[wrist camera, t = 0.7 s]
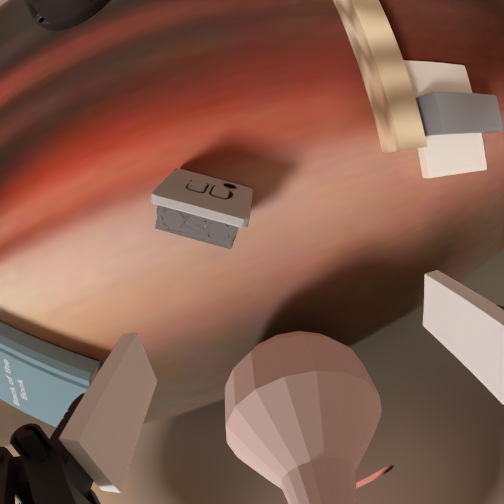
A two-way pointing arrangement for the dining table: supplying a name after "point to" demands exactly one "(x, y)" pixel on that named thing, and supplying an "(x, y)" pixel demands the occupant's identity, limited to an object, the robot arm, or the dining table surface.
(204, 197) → the electrical switch
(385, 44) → the beam
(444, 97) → the fulcrum
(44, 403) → the book
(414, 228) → the dining table surface
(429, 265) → the dining table surface
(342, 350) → the vase
